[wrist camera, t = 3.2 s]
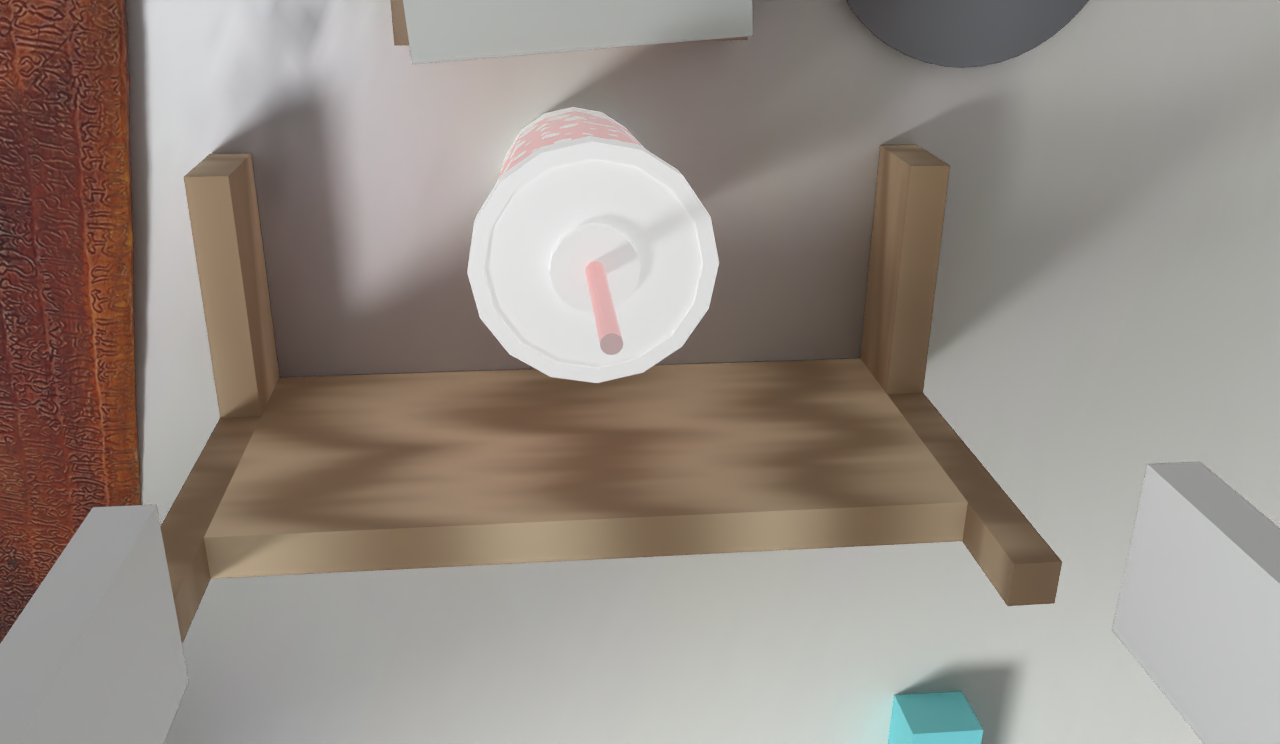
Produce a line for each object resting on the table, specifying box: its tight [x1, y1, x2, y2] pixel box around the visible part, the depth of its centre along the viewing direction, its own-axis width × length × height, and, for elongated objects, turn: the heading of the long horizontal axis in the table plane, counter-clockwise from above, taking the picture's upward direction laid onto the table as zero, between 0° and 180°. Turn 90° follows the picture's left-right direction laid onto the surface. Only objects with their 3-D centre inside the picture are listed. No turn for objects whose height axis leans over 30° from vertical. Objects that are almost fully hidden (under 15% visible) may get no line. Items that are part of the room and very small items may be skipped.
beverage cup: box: [467, 107, 719, 383], centre depth 29 cm, size 6×6×14 cm
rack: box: [161, 145, 1062, 643], centre depth 31 cm, size 22×9×13 cm, turn 89°
